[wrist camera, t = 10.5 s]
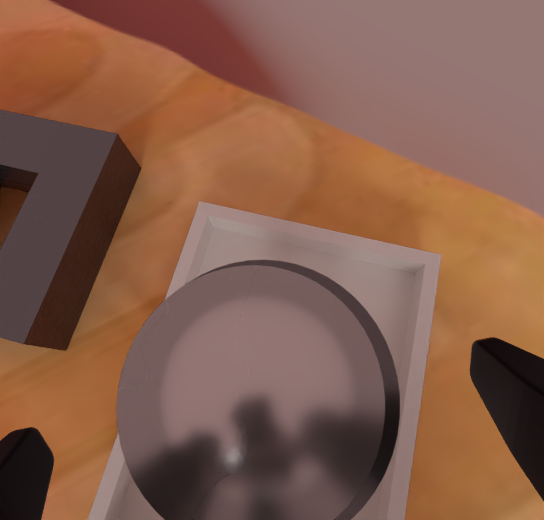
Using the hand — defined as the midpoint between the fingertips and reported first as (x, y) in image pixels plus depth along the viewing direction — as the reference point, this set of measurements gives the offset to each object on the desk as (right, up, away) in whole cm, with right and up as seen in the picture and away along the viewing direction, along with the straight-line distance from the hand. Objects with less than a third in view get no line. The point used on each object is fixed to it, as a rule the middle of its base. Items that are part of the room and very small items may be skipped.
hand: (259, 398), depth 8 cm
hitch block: (-13, +4, +12) cm, 18 cm away
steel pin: (0, -3, +9) cm, 9 cm away
